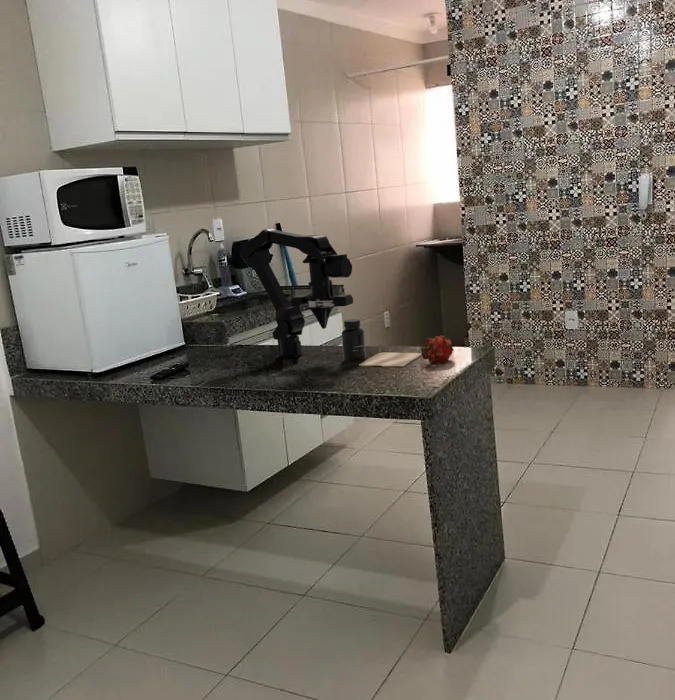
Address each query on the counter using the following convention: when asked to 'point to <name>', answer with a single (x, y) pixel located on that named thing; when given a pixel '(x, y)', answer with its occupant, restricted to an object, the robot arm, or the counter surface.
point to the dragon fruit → (437, 349)
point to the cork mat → (391, 359)
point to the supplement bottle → (353, 341)
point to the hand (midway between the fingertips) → (324, 328)
